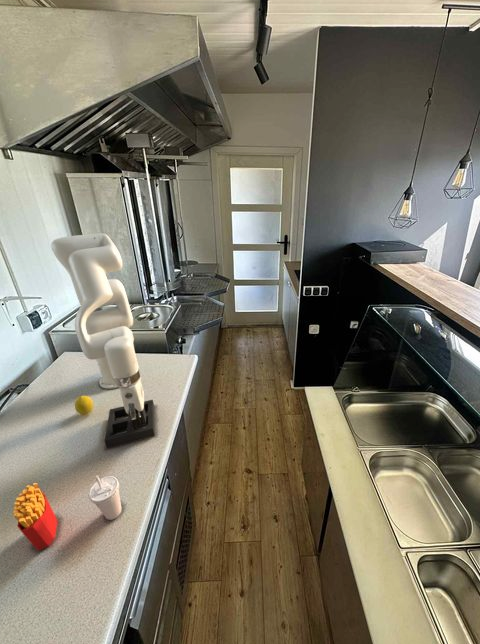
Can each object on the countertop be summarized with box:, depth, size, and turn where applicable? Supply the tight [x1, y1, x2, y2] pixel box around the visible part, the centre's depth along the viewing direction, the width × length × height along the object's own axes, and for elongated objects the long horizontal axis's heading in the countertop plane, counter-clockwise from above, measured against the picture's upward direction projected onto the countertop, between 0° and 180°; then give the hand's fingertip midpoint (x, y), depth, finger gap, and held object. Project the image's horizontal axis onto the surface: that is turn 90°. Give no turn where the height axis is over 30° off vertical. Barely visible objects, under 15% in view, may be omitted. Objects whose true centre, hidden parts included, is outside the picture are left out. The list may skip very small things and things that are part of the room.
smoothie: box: [88, 474, 122, 521], centre depth 70 cm, size 6×6×14 cm
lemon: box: [74, 395, 94, 416], centre depth 102 cm, size 6×6×8 cm
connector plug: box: [129, 408, 147, 427], centre depth 94 cm, size 4×4×6 cm
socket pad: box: [103, 399, 156, 449], centre depth 98 cm, size 14×14×4 cm
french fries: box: [12, 482, 58, 551], centre depth 66 cm, size 9×4×13 cm, turn 25°
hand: (139, 419), depth 95 cm, fingers closed on connector plug, 4 cm apart
